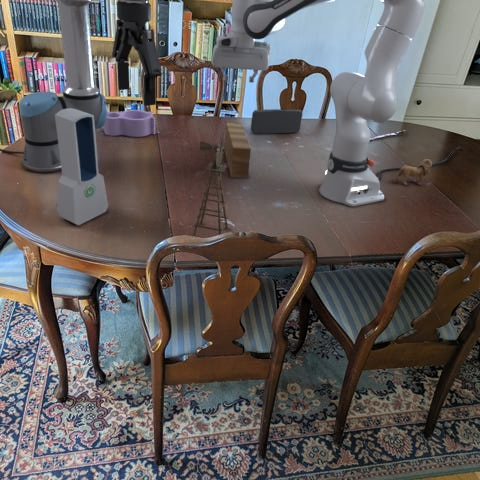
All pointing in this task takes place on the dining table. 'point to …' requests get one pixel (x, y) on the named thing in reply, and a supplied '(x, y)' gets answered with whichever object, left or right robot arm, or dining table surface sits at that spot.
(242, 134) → the box
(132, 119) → the purple double bowl
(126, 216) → the dining table surface
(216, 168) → the miniature windmill
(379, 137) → the sword
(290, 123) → the handheld gaming console
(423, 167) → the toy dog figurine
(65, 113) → the electronic device
